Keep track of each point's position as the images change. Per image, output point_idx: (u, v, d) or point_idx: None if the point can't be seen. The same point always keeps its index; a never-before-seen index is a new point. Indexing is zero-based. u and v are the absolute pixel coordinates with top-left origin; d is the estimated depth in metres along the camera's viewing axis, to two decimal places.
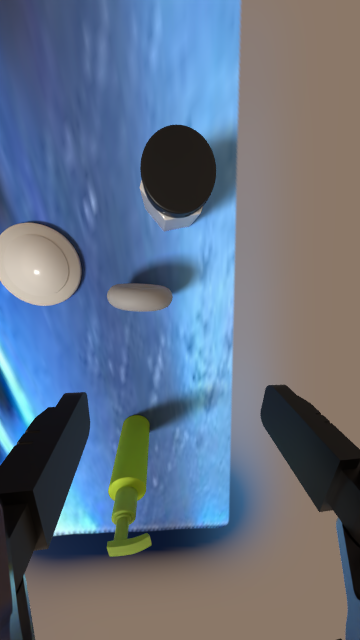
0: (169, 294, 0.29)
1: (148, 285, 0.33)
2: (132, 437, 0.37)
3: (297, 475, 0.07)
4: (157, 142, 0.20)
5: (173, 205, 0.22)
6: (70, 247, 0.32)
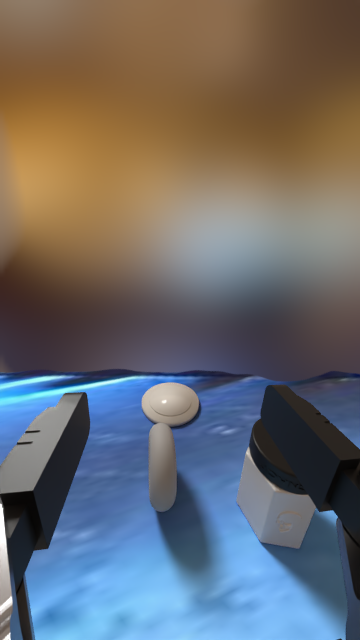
0: (170, 487, 0.23)
1: None
2: None
3: (298, 475, 0.07)
4: None
5: (260, 442, 0.23)
6: (189, 416, 0.41)
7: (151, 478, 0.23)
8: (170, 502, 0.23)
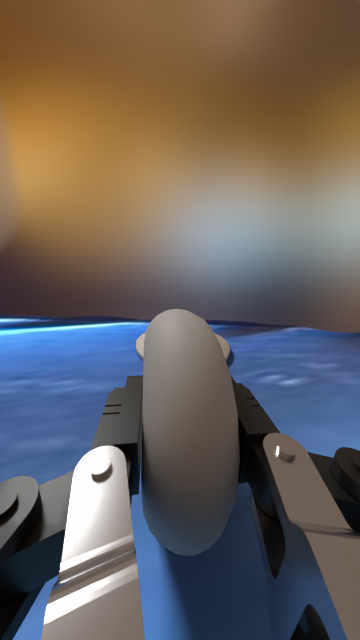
0: (226, 460, 0.06)
1: None
2: None
3: None
4: None
5: None
6: None
7: (147, 426, 0.06)
8: (222, 521, 0.06)
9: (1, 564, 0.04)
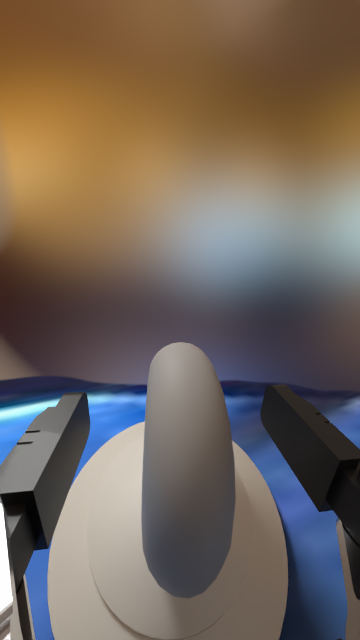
0: (219, 515, 0.06)
1: None
2: None
3: (297, 475, 0.07)
4: None
5: None
6: None
7: (146, 473, 0.06)
8: (216, 571, 0.06)
9: None
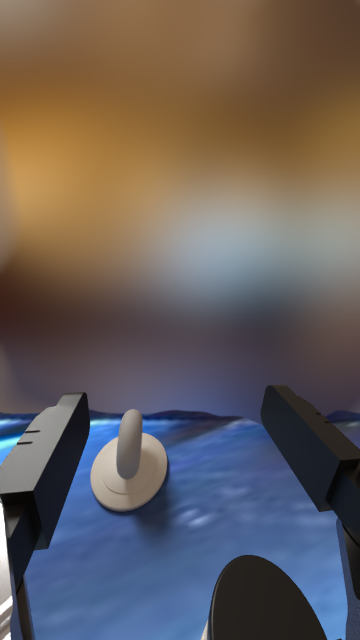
0: (131, 458, 0.28)
1: (139, 457, 0.33)
2: None
3: (297, 475, 0.07)
4: (278, 579, 0.16)
5: None
6: (149, 495, 0.30)
7: (117, 450, 0.29)
8: (131, 470, 0.29)
9: None
